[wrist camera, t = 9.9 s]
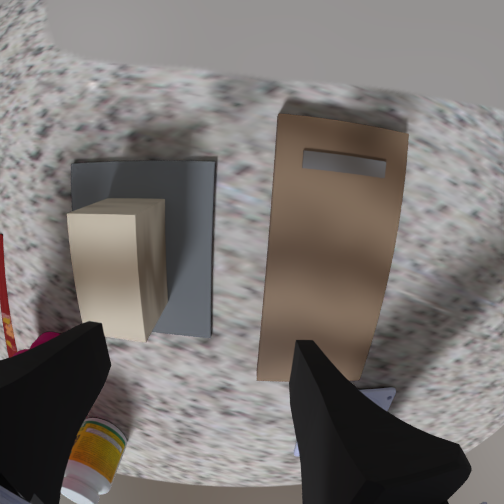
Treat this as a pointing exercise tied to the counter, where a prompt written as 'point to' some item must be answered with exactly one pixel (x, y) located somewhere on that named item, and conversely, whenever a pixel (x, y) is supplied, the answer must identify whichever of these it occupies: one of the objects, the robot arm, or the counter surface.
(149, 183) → the slate mat
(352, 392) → the robot arm
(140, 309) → the cap
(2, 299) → the chopstick
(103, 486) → the supplement bottle
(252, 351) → the counter surface
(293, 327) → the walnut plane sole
